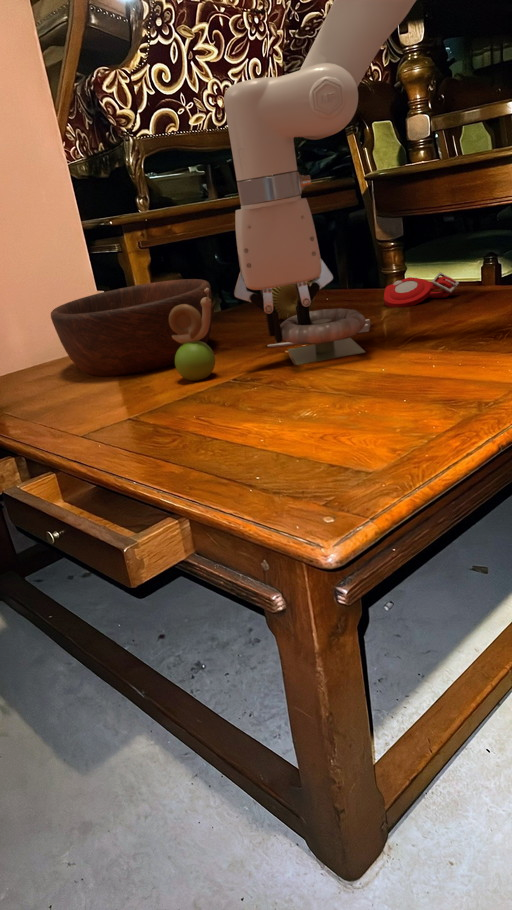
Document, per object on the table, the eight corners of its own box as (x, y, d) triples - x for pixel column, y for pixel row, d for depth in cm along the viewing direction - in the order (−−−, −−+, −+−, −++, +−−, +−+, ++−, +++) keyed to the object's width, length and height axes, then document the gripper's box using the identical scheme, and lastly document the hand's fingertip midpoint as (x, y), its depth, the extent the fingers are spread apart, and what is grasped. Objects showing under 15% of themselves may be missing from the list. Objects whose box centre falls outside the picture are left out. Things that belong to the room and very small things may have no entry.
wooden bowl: (62, 395, 98) (43, 324, 95) (70, 359, 121) (54, 300, 118) (233, 359, 102) (221, 289, 98) (209, 330, 125) (198, 272, 121)
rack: (351, 346, 98) (347, 309, 96) (366, 360, 90) (362, 321, 88) (289, 357, 98) (283, 321, 96) (298, 373, 89) (292, 334, 87)
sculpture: (272, 326, 119) (265, 279, 116) (272, 321, 123) (265, 276, 120) (319, 319, 118) (312, 271, 115) (317, 314, 122) (311, 268, 119)
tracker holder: (392, 304, 114) (371, 283, 122) (398, 327, 116) (377, 305, 124) (461, 274, 113) (435, 255, 121) (465, 298, 116) (439, 277, 124)
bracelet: (353, 319, 98) (352, 303, 97) (374, 336, 87) (373, 317, 86) (275, 333, 97) (273, 316, 96) (287, 351, 87) (285, 332, 86)
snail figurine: (220, 383, 91) (203, 291, 86) (174, 388, 92) (155, 298, 88) (229, 371, 96) (213, 284, 91) (185, 376, 97) (167, 290, 93)
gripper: (328, 181, 89) (345, 322, 96) (203, 203, 89) (229, 343, 95) (340, 180, 82) (357, 332, 89) (205, 204, 82) (232, 355, 88)
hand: (291, 336), depth 92 cm, fingers closed on bracelet, 2 cm apart
